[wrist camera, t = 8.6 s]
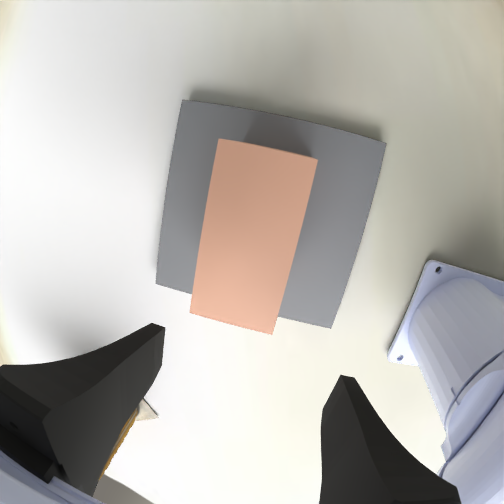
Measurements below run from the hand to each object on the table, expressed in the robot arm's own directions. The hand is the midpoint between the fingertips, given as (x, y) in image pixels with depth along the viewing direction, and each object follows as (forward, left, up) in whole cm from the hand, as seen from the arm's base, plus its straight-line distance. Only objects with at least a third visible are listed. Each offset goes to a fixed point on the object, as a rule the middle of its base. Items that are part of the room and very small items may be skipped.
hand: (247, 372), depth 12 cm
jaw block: (+1, -4, -8) cm, 9 cm away
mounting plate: (+1, -4, -9) cm, 10 cm away
